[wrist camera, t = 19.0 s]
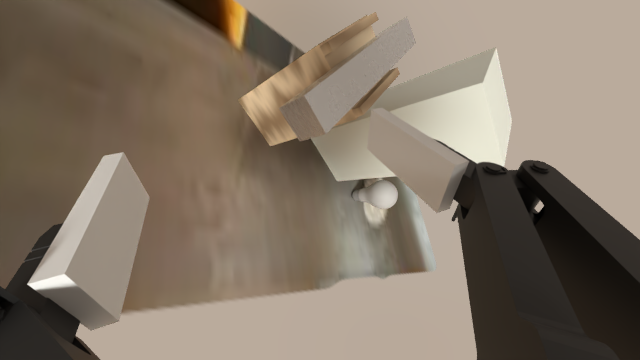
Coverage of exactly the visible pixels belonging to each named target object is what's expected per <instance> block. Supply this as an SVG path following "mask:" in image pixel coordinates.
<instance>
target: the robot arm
mask: <svg viewBox="0 0 640 360" xmlns="http://www.w3.org/2000/svg"><path fill="white" fill-rule="evenodd" d="M367 149H368V150H369V151H370V152H371V153H372V154H373V155H374V156H375V157H376V158H377V159H378V160H380V161H381V162H382V163H383V164H384V165H385V166H386V167H387V168H388V169H389V170H390V171H392V172H393V173H394V174H395V175H396V176H397V177H398V178H399V179H400V180H401V181H402V182H404V183H405V184H406V185H407V186H408V187H409V188H410V189H411V190H412V191H413V192H414V193H416V194H417V195H418V196H419V197H420V198H421V199H422V200H423V201H424V202H426V204H428V205H429V206H430V207H431V208H432V209H433V210H434V211H435V212H436V213H438V212H441V211H444V210H447V209H449V208H450V206H451V204H452V201H453V199H454V200H456V201H457V202H458V203H459V204H458V206H457V209H456V211H455V213H454V215H453V217H452V221H455V218H457V217H458V223H459V229H460V236H461V243H462V250H463V257H464V265H465V271H466V278H467V285H468V292H469V299H470V306H471V313H472V319H473V327H474V334H475V341H476V348H477V360H640V240H639V239H638V238H637V237H636V236H634V235H633V234H632V233H631V232H630V231H628V230H627V229H626V228H625V227H623V225H621V224H620V223H619V222H618V221H617V220H615V219H614V218H613V217H612V216H611V215H610V214H608V213H607V212H606V211H605V210H603V209H602V208H601V207H600V206H599V205H598V204H597V203H595V202H594V201H593V200H592V199H591V198H589V197H588V196H587V195H586V194H585V193H583V192H582V191H581V190H580V189H579V188H577V187H576V186H575V185H574V184H573V183H571V181H569V180H568V179H567V178H566V177H565V176H563V175H562V174H561V173H560V172H559V171H557V170H556V169H555V168H553V167H552V166H550V165H548V164H546V163H544V162H540V161H533V160H528V161H524V162H522V164H521V166H520V167H519V169H518V170H507V169H506V168H504V167H503V166H501V165H498V164H496V163H491V162H479V163H478V164H477V163H475V162H474V161H472V160H471V159H469V158H467V157H466V156H464V155H462V154H461V153H459V152H457V151H455V150H454V149H452V148H451V147H448V146H447V145H446V144H444V143H442V142H441V141H438V140H435V139H432V138H431V137H429V136H427V135H426V134H424V133H422V132H421V131H419V130H418V129H416V128H414V127H413V126H411V125H409V124H408V123H406V122H405V121H403V120H401V119H400V118H398V117H396V116H395V115H393V114H392V113H390V112H388V111H387V110H385V109H383V108H377V109H371V116H370V125H369V133H368V142H367ZM149 198H150V197H149V195H148V194H147V192H146V190H145V189H144V187H143V185H142V183H141V182H140V180H139V178H138V177H137V175H136V173H135V171H134V170H133V168H132V166H131V164H130V163H129V161H128V159H127V158H126V156H125V154H124V152H123V153H117V154H112V155H106V156H104V157H103V158H102V160H101V162H100V163H99V165H98V167H97V168H96V170H95V172H94V173H93V175H92V177H91V178H90V180H89V182H88V183H87V185H86V187H85V188H84V190H83V192H82V193H81V195H80V197H79V198H78V200H77V202H76V203H75V205H74V207H73V209H72V210H71V212H70V214H69V215H68V217H67V219H66V220H65V222H64V223H62V224H58V225H54V226H52V227H51V228H50V229H49V230H48V231H47V232H45V233H44V234H43V235H42V236H41V237H40V238H39V239H38V241H37V242H36V244H35V245H34V247H33V248H32V250H31V251H32V252H30V253H29V254H28V256H27V257H26V259H25V260H24V261H25V263H22V265H21V266H20V268H19V269H18V271H17V272H16V274H15V275H14V277H13V278H12V280H11V282H10V283H9V285H8V286H7V288H6V289H3V288H2V287H0V360H100V359H99V358H98V357H97V356H96V355H95V354H94V353H93V352H92V351H91V349H90V348H89V347H88V346H87V345H86V344H85V343H84V342H83V341H82V340H81V339H79V338H78V337H76V336H75V335H76V332H77V329H78V326H79V324H80V323H81V324H83V325H84V326H85V327H87V328H88V329H90V330H94V329H97V328H100V327H103V326H106V325H109V324H112V323H115V322H118V321H119V318H120V315H121V311H122V307H123V302H124V298H125V294H126V290H127V286H128V282H129V278H130V274H131V270H132V266H133V262H134V258H135V254H136V250H137V246H138V242H139V238H140V234H141V230H142V226H143V222H144V218H145V214H146V210H147V206H148V202H149ZM540 200H541V202H542V203H543V204H544V207H543V208H542V210H541V211H540V212H539V213H538V212H537V211H536V210H535V209H534V208H535V206H536V205H537V204H538V202H539V201H540Z"/></svg>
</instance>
